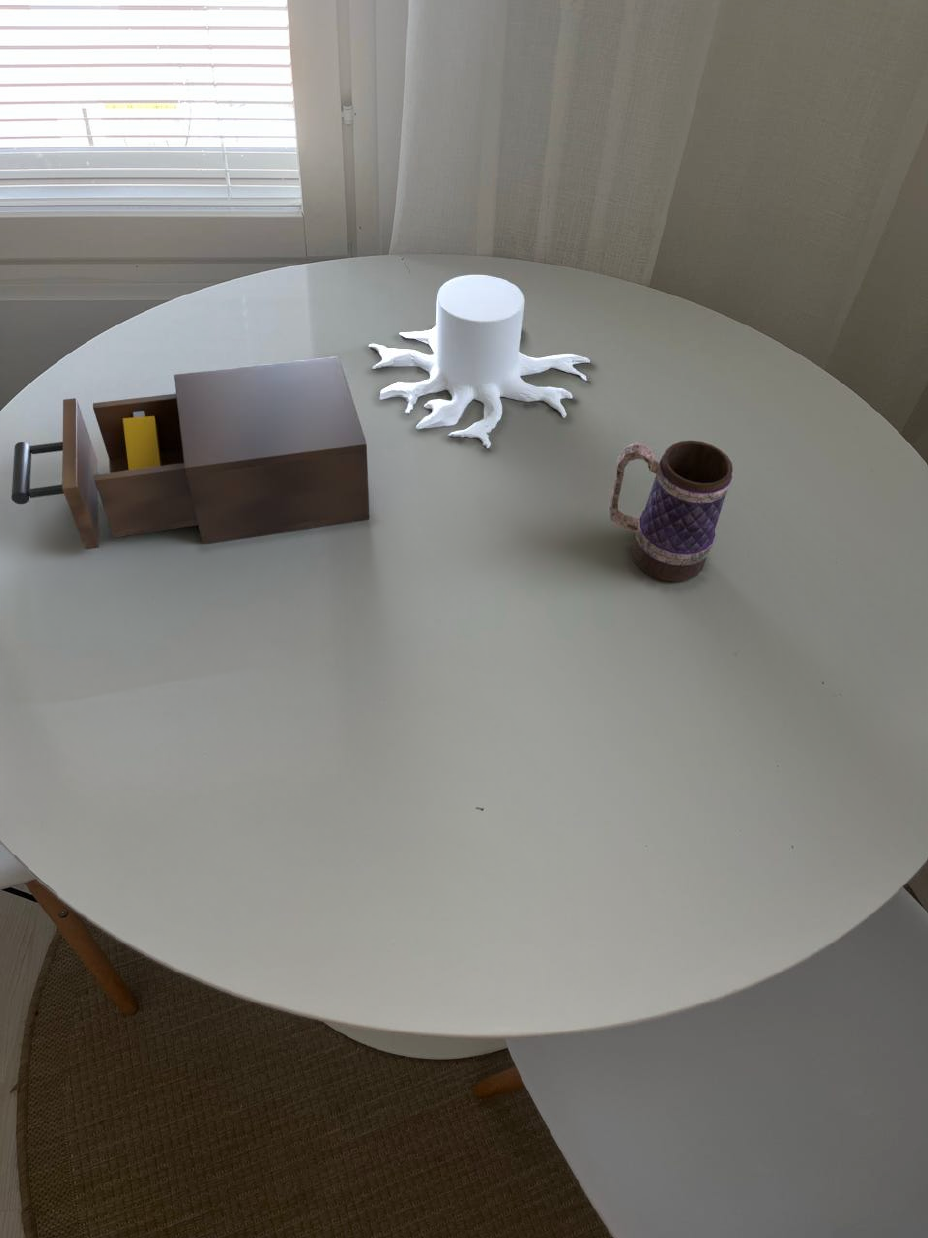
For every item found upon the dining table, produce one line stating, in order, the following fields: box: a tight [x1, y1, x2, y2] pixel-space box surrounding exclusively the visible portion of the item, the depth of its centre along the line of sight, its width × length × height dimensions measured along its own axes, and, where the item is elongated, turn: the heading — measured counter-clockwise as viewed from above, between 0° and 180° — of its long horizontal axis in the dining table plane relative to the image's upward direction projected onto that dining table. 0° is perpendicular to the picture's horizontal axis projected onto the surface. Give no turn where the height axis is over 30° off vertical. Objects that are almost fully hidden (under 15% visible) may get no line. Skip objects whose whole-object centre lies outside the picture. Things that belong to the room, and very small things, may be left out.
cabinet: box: [173, 355, 371, 545], centre depth 86 cm, size 16×14×9 cm
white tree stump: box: [368, 273, 591, 449], centre depth 100 cm, size 23×25×9 cm
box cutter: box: [123, 411, 162, 470], centre depth 84 cm, size 9×3×2 cm, turn 14°
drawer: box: [10, 393, 198, 551], centre depth 84 cm, size 20×12×7 cm, turn 105°
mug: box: [608, 440, 734, 582], centre depth 82 cm, size 10×7×12 cm
